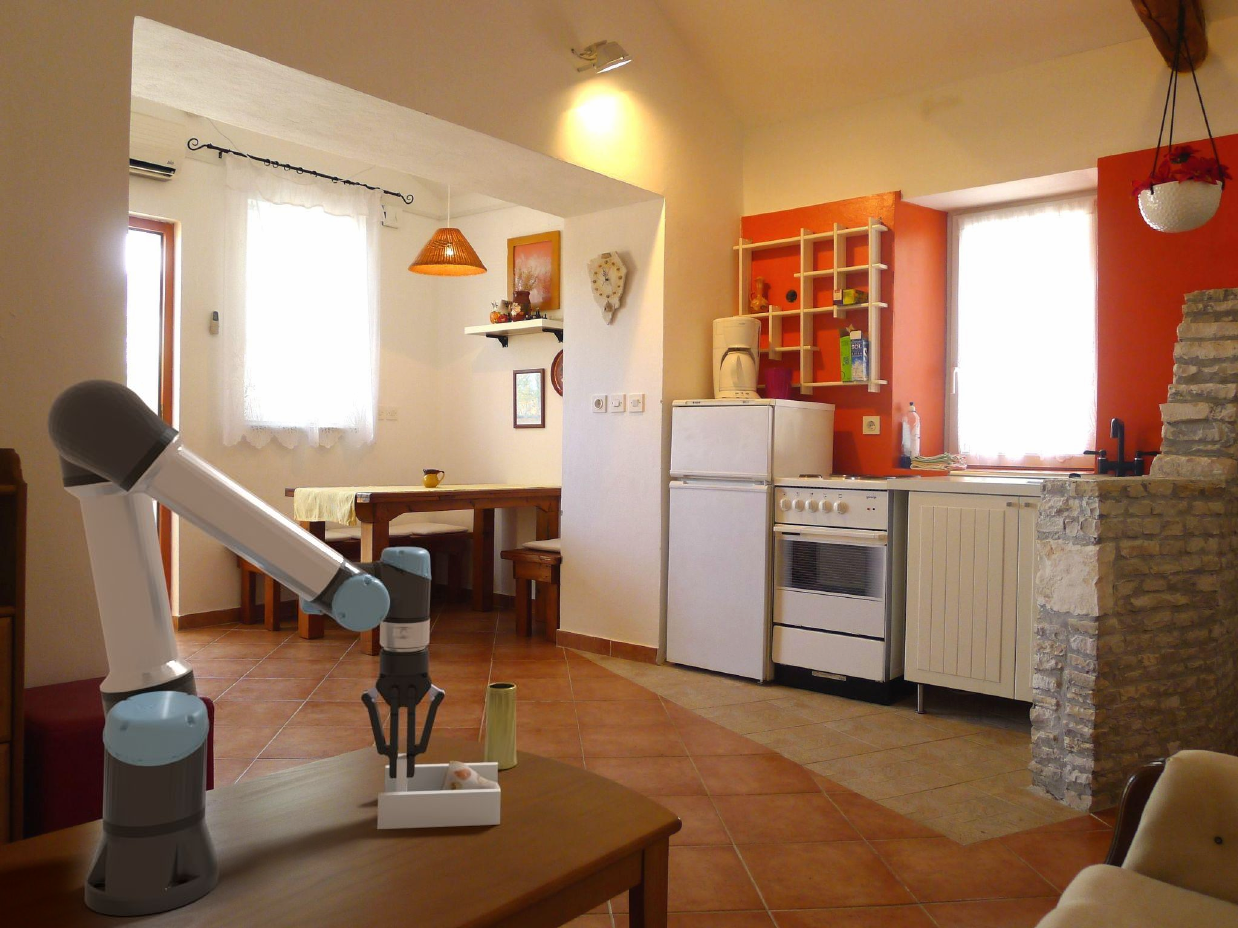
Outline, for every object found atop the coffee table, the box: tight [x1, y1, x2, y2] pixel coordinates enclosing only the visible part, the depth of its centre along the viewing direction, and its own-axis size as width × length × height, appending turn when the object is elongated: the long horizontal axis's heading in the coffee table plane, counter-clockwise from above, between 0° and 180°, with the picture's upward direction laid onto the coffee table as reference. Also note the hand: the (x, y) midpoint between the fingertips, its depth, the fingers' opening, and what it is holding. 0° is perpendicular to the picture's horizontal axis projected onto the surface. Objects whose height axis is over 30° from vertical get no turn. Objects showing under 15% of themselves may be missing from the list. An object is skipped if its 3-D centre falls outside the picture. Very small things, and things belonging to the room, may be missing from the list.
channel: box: [376, 762, 501, 830], centre depth 146 cm, size 18×14×5 cm
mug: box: [440, 760, 501, 791], centre depth 148 cm, size 8×10×10 cm
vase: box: [482, 681, 518, 770], centre depth 168 cm, size 6×6×14 cm
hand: (401, 797), depth 145 cm, fingers closed
